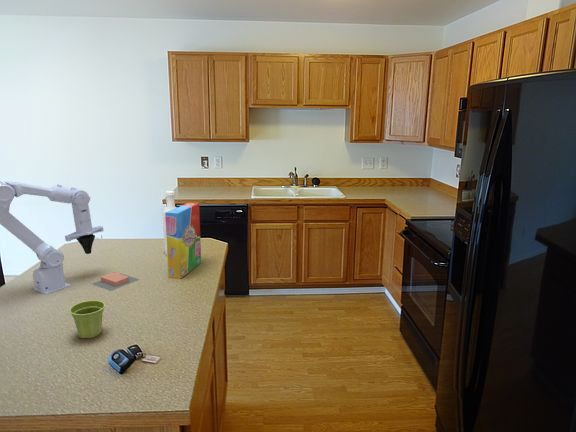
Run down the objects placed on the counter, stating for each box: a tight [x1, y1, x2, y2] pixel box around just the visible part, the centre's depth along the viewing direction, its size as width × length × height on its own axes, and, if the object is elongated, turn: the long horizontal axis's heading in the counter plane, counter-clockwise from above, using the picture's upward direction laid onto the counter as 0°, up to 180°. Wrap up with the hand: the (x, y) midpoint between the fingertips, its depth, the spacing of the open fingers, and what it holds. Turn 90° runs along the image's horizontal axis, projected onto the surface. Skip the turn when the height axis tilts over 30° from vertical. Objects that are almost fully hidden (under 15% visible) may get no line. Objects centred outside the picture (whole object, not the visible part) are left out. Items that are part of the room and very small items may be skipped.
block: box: [100, 272, 129, 287], centre depth 156 cm, size 2×9×6 cm
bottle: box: [162, 190, 178, 257], centre depth 187 cm, size 8×8×30 cm
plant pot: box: [68, 299, 106, 339], centre depth 119 cm, size 9×9×9 cm
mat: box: [91, 272, 141, 292], centre depth 157 cm, size 13×12×1 cm
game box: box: [165, 202, 202, 280], centre depth 168 cm, size 21×6×27 cm, turn 168°
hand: (88, 253), depth 159 cm, fingers closed
